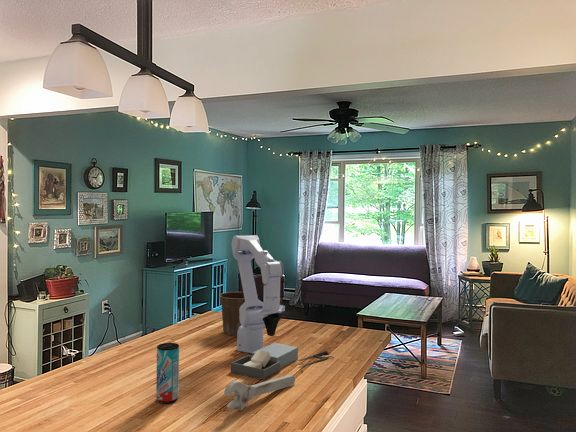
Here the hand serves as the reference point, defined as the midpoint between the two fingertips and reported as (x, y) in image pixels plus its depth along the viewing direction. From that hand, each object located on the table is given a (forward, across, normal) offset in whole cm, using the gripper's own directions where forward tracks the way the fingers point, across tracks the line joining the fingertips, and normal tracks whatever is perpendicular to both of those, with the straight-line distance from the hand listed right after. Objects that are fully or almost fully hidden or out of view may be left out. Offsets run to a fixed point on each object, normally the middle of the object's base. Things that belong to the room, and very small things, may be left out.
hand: (270, 335), depth 162 cm
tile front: (+6, -12, -1) cm, 14 cm away
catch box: (+9, -11, -1) cm, 14 cm away
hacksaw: (+10, +8, -12) cm, 18 cm away
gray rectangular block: (+9, +2, -1) cm, 9 cm away
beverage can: (+9, -42, +6) cm, 44 cm away
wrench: (+10, -27, -15) cm, 33 cm away
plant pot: (+10, +24, +33) cm, 42 cm away
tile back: (+7, -7, -2) cm, 10 cm away
